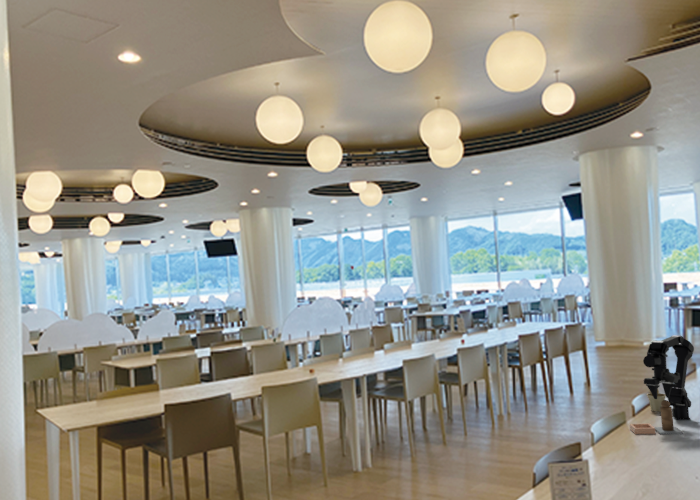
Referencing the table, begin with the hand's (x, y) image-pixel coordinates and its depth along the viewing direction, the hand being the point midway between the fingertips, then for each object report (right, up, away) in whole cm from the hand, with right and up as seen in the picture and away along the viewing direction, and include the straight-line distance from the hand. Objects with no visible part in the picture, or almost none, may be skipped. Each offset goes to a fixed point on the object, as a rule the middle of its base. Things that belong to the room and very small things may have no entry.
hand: (661, 398), depth 293 cm
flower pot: (+13, -14, +28) cm, 34 cm away
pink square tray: (-14, -13, -9) cm, 21 cm away
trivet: (-4, -13, -12) cm, 18 cm away
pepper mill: (-3, -12, -12) cm, 17 cm away
